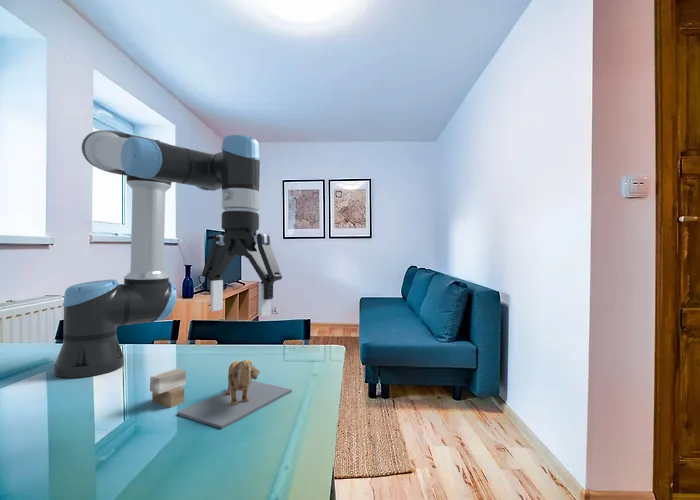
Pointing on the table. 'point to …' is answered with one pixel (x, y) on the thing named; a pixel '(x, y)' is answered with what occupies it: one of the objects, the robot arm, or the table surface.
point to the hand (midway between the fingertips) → (239, 313)
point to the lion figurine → (240, 379)
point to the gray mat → (224, 414)
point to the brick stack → (168, 387)
